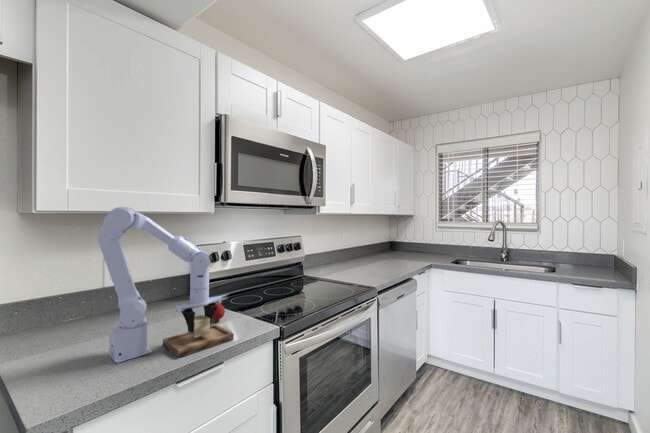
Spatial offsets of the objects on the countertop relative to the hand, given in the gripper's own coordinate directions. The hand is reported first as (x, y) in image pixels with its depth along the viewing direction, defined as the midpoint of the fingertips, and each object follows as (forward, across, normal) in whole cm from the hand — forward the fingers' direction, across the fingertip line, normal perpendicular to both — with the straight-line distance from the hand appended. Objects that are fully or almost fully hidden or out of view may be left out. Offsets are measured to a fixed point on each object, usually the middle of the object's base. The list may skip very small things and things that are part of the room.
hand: (199, 328), depth 101 cm
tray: (+4, 0, 0) cm, 4 cm away
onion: (+5, -14, -14) cm, 20 cm away
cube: (+2, 0, 0) cm, 2 cm away
